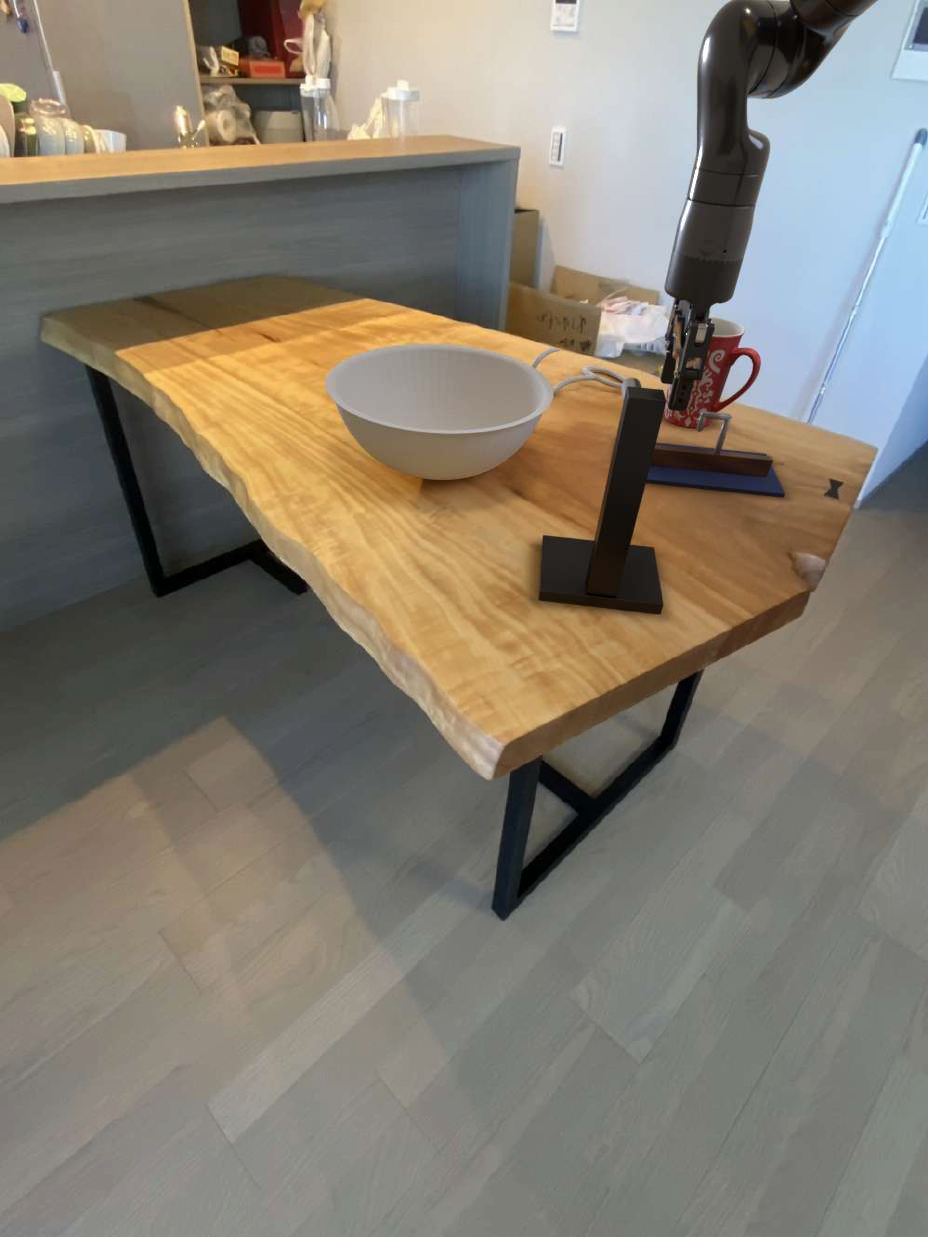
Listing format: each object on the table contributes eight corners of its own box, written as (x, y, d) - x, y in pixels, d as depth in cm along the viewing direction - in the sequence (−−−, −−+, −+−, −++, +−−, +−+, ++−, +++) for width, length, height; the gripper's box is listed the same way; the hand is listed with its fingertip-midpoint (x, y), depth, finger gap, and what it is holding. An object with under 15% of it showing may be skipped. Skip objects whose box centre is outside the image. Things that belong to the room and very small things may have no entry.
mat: (765, 456, 95) (766, 453, 94) (784, 497, 86) (785, 493, 86) (619, 441, 96) (620, 438, 96) (624, 480, 88) (624, 476, 87)
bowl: (378, 534, 75) (375, 450, 69) (303, 430, 93) (296, 356, 87) (584, 488, 85) (599, 411, 79) (481, 403, 103) (486, 334, 97)
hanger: (764, 472, 90) (785, 417, 85) (766, 477, 89) (788, 421, 84) (634, 459, 91) (647, 404, 86) (635, 463, 90) (648, 408, 85)
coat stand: (651, 553, 75) (705, 360, 62) (660, 614, 67) (725, 408, 54) (541, 541, 76) (571, 347, 62) (538, 600, 68) (571, 392, 54)
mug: (644, 415, 103) (666, 322, 94) (675, 400, 108) (699, 310, 99) (720, 446, 97) (751, 348, 88) (750, 428, 102) (782, 334, 93)
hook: (505, 386, 107) (596, 383, 118) (543, 408, 102) (635, 403, 112) (516, 337, 103) (609, 339, 114) (555, 358, 97) (650, 358, 108)
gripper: (758, 267, 68) (712, 422, 79) (732, 237, 79) (695, 377, 90) (681, 261, 69) (646, 416, 79) (666, 232, 80) (636, 372, 90)
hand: (672, 395), depth 84 cm, fingers open, 8 cm apart
